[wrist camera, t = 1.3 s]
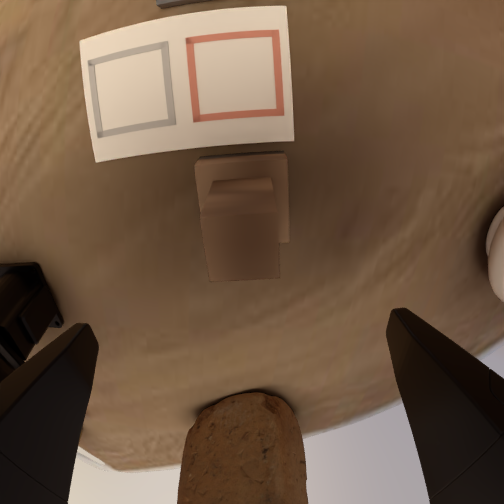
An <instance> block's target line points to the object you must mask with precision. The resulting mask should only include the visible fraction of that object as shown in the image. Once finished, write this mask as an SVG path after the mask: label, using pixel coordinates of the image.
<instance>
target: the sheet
mask: <svg viewBox="0 0 504 504" xmlns="http://www.w3.org/2000/svg"><path fill="white" fill-rule="evenodd" d="M80 53H81V65H82V75H83V85H84V93H85V101H86V108H87V115H88V122H89V128H90V134H91V140H92V145H93V151H94V156H95V161H96V163H97V162H102V161H108V160H113V159H119V158H125V157H131V156H138V155H144V154H151V153H158V152H166V151H174V150H182V149H191V148H200V147H210V146H221V145H233V144H246V143H262V142H282V141H294V122H293V100H292V81H291V64H290V49H289V35H288V22H287V10H286V6H259V7H242V8H229V9H219V10H211V11H203V12H196V13H189V14H183V15H177V16H171V17H166V18H161V19H156V20H152V21H147V22H143V23H139V24H135V25H131V26H127V27H123V28H119V29H116V30H112V31H109V32H105V33H102V34H99V35H96V36H93V37H90V38H87V39H84V40H81V41H80Z"/></svg>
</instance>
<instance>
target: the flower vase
mask: <svg viewBox="0 0 504 504" xmlns="http://www.w3.org/2000/svg"><path fill="white" fill-rule="evenodd" d="M486 253H487V256H488V277H489V281H490V284H491V288H492V290H493V292H494V293H495V294H496V296H497V297H498V298H499V299H500V300H501V301H502V302H504V207H502V208H501V209H500V210H499V212H498V213H497V214H496V216H495V217H494V219H493V221H492V223H491V225H490V227H489V230H488V233H487V238H486Z"/></svg>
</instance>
